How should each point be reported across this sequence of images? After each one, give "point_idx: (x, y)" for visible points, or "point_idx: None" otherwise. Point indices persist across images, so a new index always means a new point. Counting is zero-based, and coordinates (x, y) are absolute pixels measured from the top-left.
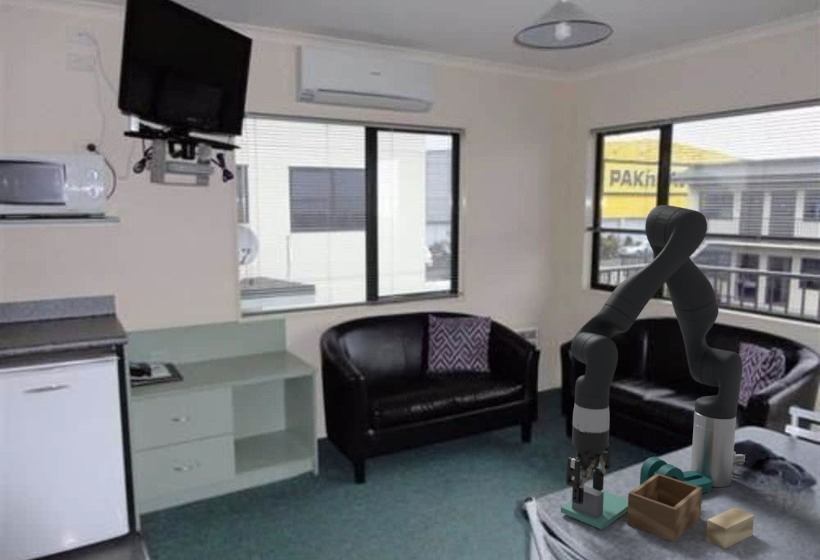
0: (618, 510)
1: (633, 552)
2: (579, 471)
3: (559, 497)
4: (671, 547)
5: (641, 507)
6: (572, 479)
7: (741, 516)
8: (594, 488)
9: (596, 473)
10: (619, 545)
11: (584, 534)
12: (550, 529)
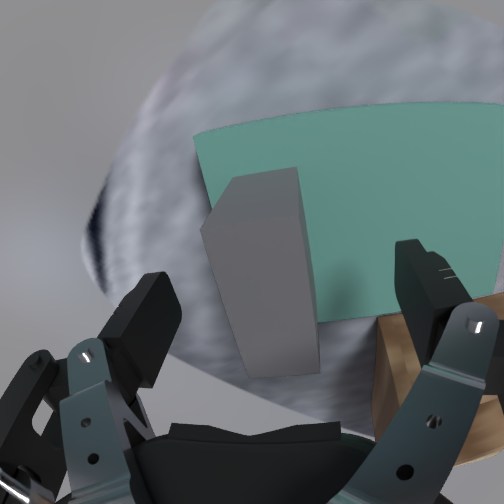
0: (396, 305)
1: (247, 389)
2: (51, 486)
3: (337, 6)
4: (345, 412)
5: (388, 411)
6: (71, 374)
7: (483, 456)
8: (396, 250)
9: (437, 330)
10: (242, 362)
11: (188, 279)
12: (101, 193)
